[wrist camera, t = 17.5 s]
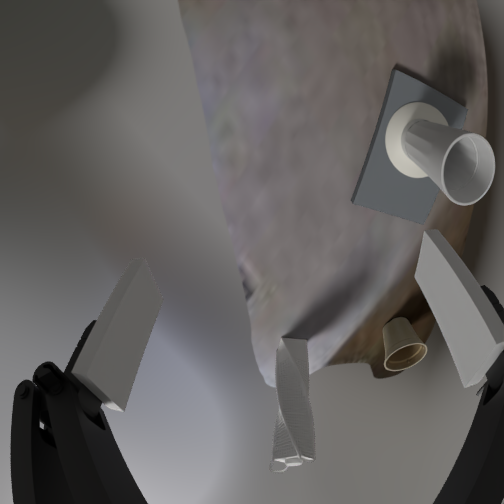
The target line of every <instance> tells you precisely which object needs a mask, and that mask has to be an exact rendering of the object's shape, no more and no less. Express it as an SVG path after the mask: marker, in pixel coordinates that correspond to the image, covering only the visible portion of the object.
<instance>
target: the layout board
mask: <svg viewBox="0 0 504 504" xmlns="http://www.w3.org/2000/svg"><path fill="white" fill-rule="evenodd" d="M467 111H468V109H466V108H465V107H463V106H462V105H460V104H459V103H457V102H455V101H454V100H452V99H451V98H449V97H447V96H446V95H444V94H442V93H440V92H439V91H437V90H435V89H433V88H431V87H430V86H428V85H426V84H424V83H422V82H420V81H418V80H416V79H414V78H412V77H410V76H408V75H406V74H404V73H402V72H400V71H398V70H392V73H391V77H390V80H389V84H388V88H387V91H386V95H385V99H384V102H383V106H382V109H381V112H380V116H379V119H378V122H377V126H376V129H375V132H374V135H373V138H372V141H371V144H370V147H369V151H368V154H367V157H366V159H365V162H364V165H363V168H362V171H361V174H360V177H359V180H358V182H357V185H356V188H355V191H354V193H353V196H352V199H351V201H352V203H353V204H355V205H359V206H363V207H366V208H370V209H373V210H377V211H380V212H384V213H387V214H390V215H394V216H397V217H400V218H403V219H407V220H410V221H413V222H416V223H419V224H422V225H424V222H425V220H426V218H427V216H428V214H429V212H430V210H431V208H432V205H433V203H434V201H435V199H436V196H437V194H438V192H439V190H440V188H439V187H438V186H437V184H436V183H435V182H434V181H433V180H432V179H431V178H430V177H429V176H428V175H427V174H426V173H425V172H424V171H423V170H422V169H421V168H419V167H418V166H417V165H416V164H415V163H414V162H413V161H412V160H410V159H409V158H408V157H407V156H406V155H405V153H404V152H403V149H402V146H401V135H402V131H403V129H404V127H405V126H406V125H407V124H408V123H409V122H410V121H412V120H414V119H425V120H428V121H430V122H434V123H438V124H442V125H446V126H450V127H453V128H457V129H462V128H463V125H464V121H465V118H466V115H467Z"/></svg>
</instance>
